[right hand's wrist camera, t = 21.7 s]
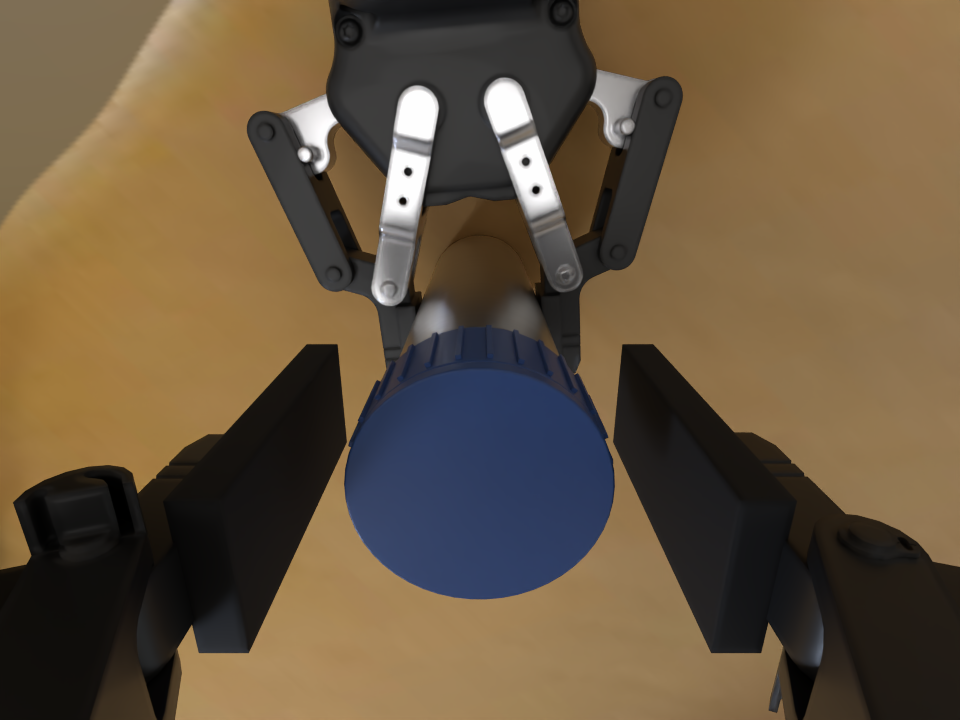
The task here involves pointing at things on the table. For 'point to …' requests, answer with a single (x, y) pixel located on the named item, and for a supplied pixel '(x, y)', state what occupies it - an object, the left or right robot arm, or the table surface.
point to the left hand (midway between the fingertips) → (486, 384)
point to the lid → (479, 466)
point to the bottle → (479, 293)
